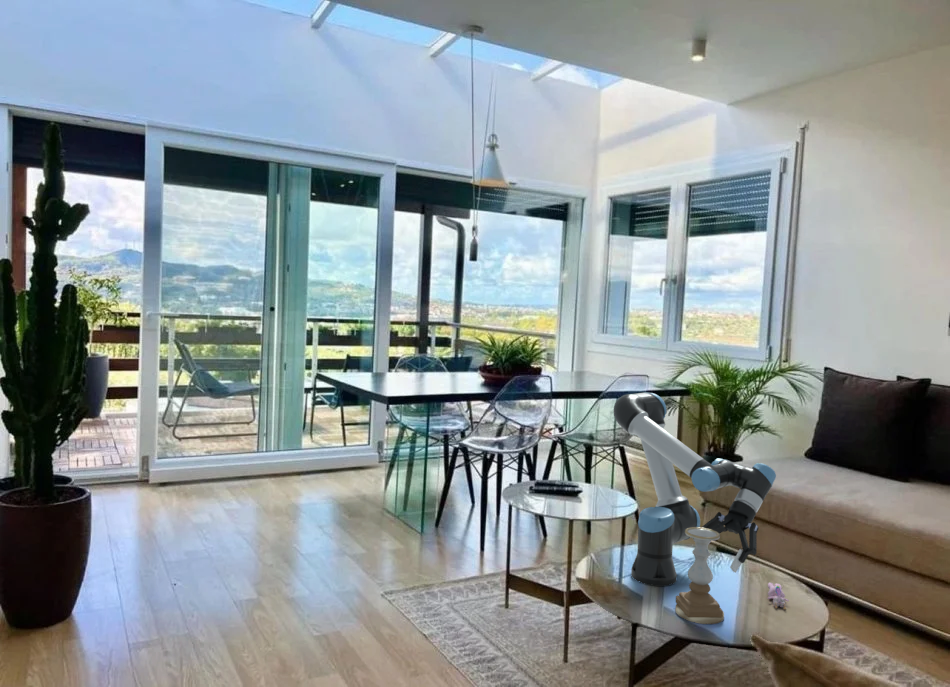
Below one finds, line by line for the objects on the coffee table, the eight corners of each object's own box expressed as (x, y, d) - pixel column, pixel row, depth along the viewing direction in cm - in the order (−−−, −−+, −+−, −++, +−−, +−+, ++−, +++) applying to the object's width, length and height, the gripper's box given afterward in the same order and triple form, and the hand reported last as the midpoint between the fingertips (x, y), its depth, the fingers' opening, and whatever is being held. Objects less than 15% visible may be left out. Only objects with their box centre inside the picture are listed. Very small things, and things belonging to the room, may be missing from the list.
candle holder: (709, 601, 212) (712, 526, 211) (723, 617, 201) (727, 538, 200) (674, 601, 211) (678, 526, 210) (687, 617, 200) (691, 537, 199)
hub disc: (666, 612, 206) (667, 609, 206) (688, 599, 216) (688, 596, 216) (711, 628, 196) (711, 624, 196) (731, 614, 206) (731, 610, 206)
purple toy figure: (790, 615, 210) (783, 589, 224) (792, 598, 209) (784, 573, 223) (769, 612, 212) (762, 586, 226) (770, 595, 210) (764, 570, 224)
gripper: (786, 524, 207) (755, 583, 199) (717, 504, 227) (686, 557, 220) (776, 510, 203) (744, 569, 196) (707, 491, 224) (675, 544, 217)
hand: (713, 562), depth 208 cm, fingers open, 13 cm apart
